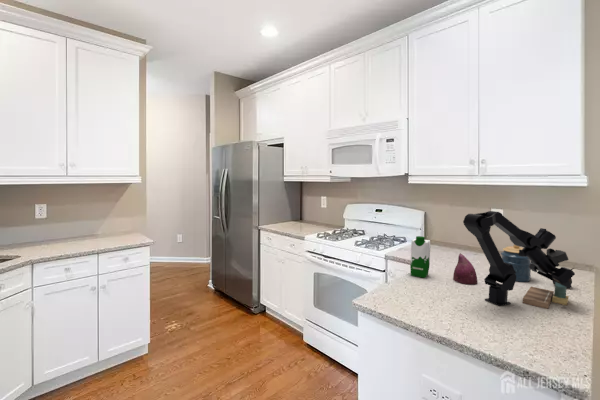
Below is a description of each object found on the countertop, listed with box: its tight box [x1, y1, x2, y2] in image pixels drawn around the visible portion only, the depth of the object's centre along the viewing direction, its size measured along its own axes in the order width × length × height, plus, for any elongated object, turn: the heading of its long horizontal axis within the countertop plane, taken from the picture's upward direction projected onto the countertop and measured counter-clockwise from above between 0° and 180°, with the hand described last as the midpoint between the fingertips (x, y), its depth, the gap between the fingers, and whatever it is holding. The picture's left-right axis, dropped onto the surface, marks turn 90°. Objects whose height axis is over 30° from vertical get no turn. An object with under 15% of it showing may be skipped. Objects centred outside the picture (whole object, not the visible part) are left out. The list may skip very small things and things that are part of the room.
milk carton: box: [409, 235, 431, 279], centre depth 158 cm, size 9×9×20 cm
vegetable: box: [452, 252, 478, 286], centre depth 151 cm, size 10×10×15 cm
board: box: [522, 286, 555, 310], centre depth 129 cm, size 20×8×2 cm, turn 136°
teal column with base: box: [551, 282, 569, 306], centre depth 127 cm, size 7×5×11 cm, turn 136°
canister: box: [500, 244, 532, 283], centre depth 157 cm, size 13×13×18 cm
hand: (564, 285), depth 127 cm, fingers open, 6 cm apart
